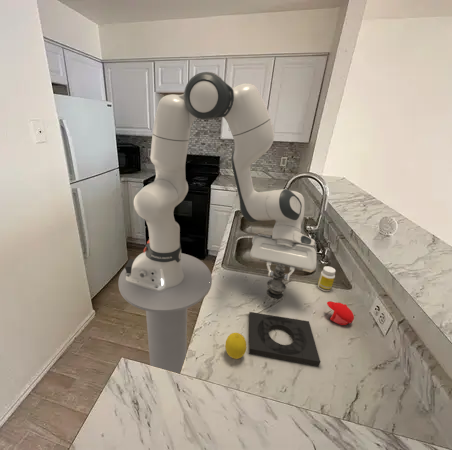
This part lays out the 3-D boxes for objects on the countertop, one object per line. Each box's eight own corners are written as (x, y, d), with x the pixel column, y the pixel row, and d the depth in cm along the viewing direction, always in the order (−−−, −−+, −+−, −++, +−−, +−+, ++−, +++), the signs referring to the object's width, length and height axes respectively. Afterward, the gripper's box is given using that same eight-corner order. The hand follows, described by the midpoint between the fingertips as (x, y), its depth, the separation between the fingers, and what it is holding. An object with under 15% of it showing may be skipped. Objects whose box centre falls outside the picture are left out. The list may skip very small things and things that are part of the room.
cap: (350, 316, 83) (355, 302, 81) (352, 330, 78) (358, 315, 76) (323, 309, 86) (327, 295, 83) (323, 321, 81) (328, 307, 78)
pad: (249, 353, 70) (250, 348, 70) (248, 316, 83) (249, 311, 82) (318, 366, 67) (320, 361, 66) (307, 325, 80) (309, 321, 79)
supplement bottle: (333, 291, 94) (339, 273, 90) (320, 291, 94) (326, 273, 90) (327, 283, 98) (332, 265, 95) (314, 283, 98) (320, 265, 95)
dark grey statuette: (264, 296, 83) (270, 266, 77) (266, 285, 88) (272, 256, 82) (283, 301, 81) (290, 271, 76) (284, 290, 86) (291, 260, 80)
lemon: (240, 368, 66) (243, 347, 63) (220, 358, 69) (223, 337, 65) (247, 353, 71) (251, 332, 67) (229, 343, 73) (231, 323, 70)
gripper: (253, 229, 85) (245, 269, 81) (320, 241, 79) (314, 285, 75) (254, 235, 91) (245, 272, 87) (316, 247, 84) (310, 288, 80)
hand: (278, 278), depth 81 cm, fingers closed on dark grey statuette, 3 cm apart
